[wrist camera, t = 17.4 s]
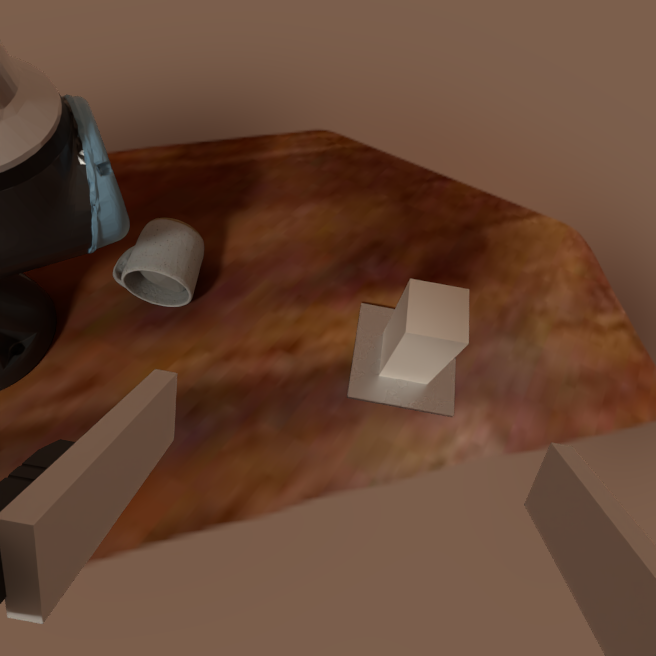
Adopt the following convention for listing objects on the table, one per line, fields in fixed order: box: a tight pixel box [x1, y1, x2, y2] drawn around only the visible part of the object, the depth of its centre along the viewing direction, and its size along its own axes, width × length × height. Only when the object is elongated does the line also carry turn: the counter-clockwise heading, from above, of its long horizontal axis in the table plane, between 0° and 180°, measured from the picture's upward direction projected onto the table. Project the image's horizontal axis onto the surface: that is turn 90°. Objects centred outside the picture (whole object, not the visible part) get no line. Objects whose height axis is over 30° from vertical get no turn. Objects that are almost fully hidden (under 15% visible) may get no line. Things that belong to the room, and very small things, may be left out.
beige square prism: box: [379, 279, 469, 384], centre depth 42 cm, size 6×6×12 cm
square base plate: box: [347, 303, 456, 417], centre depth 45 cm, size 12×12×7 cm
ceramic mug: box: [113, 218, 204, 307], centre depth 47 cm, size 11×8×8 cm
